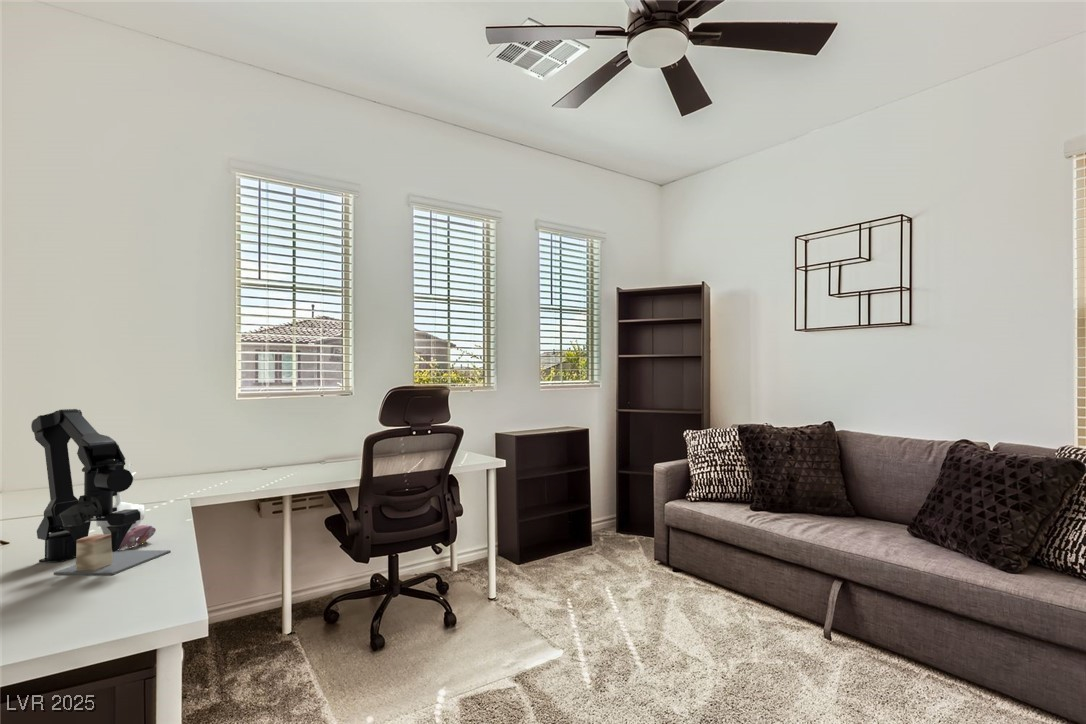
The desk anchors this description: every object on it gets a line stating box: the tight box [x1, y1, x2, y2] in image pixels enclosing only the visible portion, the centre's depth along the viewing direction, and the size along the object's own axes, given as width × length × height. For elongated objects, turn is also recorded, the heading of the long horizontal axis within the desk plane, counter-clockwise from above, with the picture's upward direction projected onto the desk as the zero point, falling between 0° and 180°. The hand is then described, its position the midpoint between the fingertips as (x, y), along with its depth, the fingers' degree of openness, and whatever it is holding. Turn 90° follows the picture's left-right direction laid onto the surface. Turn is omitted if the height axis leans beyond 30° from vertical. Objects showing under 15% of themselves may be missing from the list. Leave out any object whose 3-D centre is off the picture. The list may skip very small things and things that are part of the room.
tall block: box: [75, 533, 113, 570], centre depth 138 cm, size 5×5×8 cm
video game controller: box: [118, 524, 156, 550], centre depth 158 cm, size 10×5×7 cm, turn 170°
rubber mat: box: [53, 549, 171, 576], centre depth 143 cm, size 16×18×1 cm
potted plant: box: [95, 459, 145, 534], centre depth 165 cm, size 13×12×25 cm
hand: (98, 551), depth 139 cm, fingers open, 9 cm apart
